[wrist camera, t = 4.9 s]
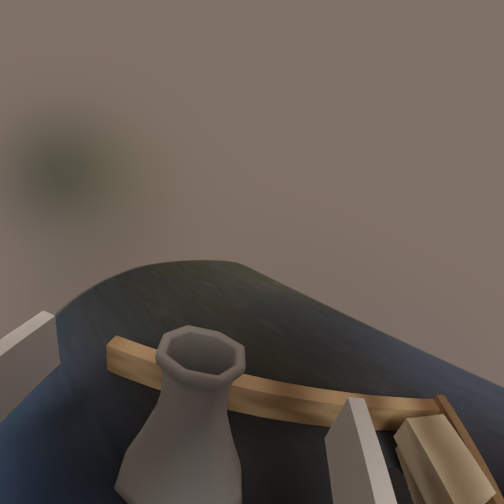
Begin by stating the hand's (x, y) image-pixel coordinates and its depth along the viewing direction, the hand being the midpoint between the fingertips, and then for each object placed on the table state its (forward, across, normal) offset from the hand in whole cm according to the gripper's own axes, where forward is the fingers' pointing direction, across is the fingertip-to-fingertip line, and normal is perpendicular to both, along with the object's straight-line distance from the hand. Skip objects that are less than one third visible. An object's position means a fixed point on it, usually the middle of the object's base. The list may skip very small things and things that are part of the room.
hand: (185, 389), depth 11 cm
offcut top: (0, +17, -6) cm, 18 cm away
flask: (0, 0, -8) cm, 8 cm away
